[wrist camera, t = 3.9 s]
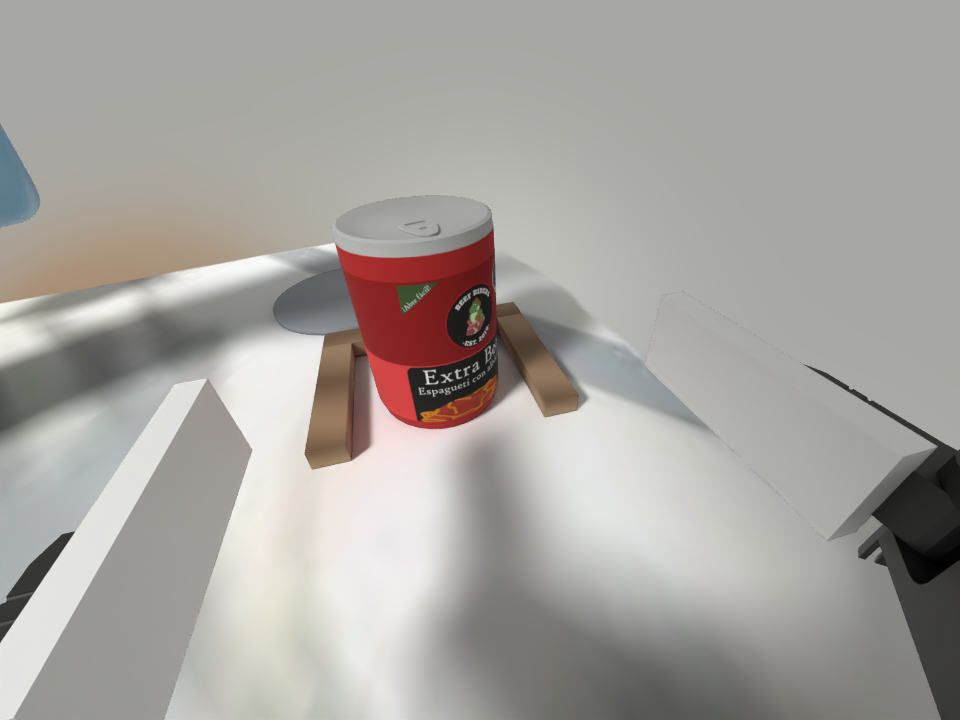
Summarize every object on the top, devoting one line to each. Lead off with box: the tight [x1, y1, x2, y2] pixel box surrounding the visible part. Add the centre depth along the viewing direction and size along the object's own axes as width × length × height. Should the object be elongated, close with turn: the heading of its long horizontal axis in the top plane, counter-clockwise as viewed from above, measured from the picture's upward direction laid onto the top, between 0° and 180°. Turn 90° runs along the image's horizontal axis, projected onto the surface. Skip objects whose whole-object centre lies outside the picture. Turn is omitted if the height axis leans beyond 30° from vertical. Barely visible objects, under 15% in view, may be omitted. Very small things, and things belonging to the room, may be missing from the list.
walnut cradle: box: [305, 302, 579, 469], centre depth 25 cm, size 12×15×1 cm
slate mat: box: [273, 269, 359, 335], centre depth 36 cm, size 13×13×1 cm
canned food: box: [332, 195, 498, 429], centre depth 21 cm, size 8×8×11 cm
